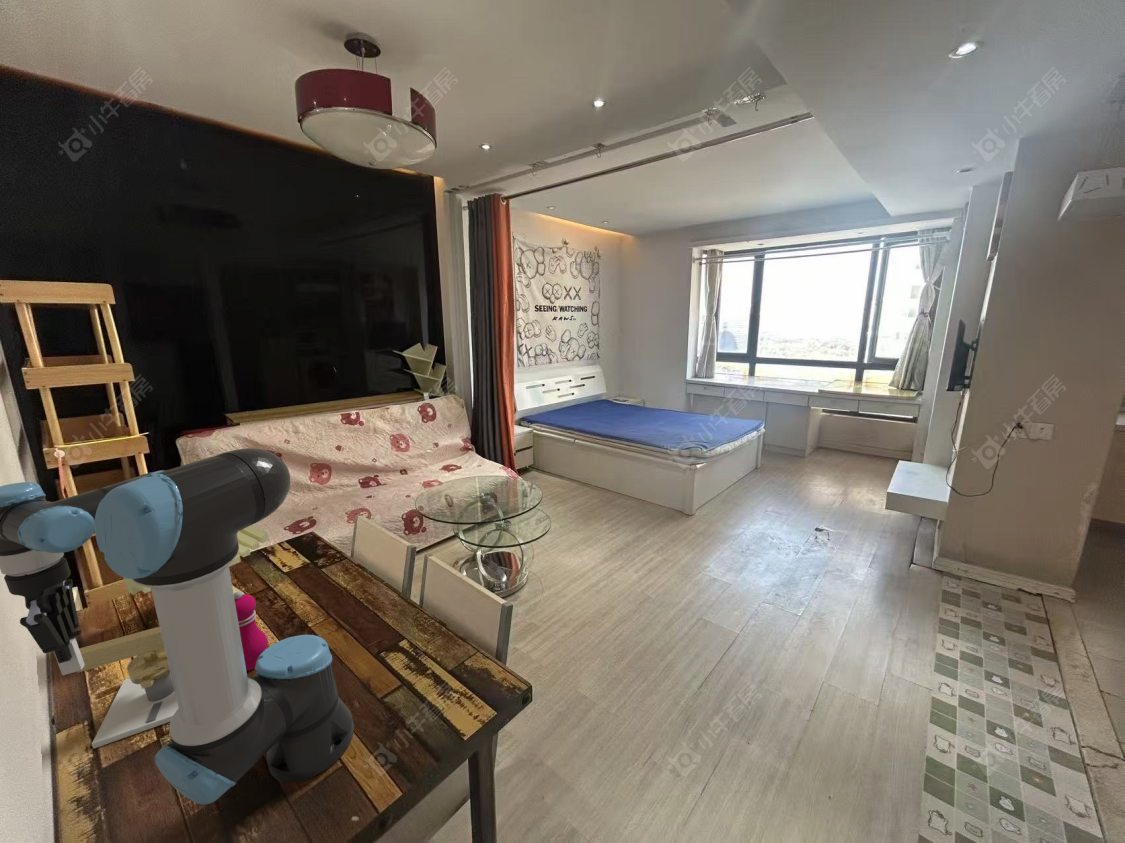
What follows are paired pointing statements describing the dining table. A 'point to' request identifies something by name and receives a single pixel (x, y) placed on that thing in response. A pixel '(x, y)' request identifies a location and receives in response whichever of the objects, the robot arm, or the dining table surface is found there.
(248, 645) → the pepper mill
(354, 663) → the dining table surface
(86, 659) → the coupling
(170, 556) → the robot arm
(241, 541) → the slatted curved stool
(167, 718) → the base
